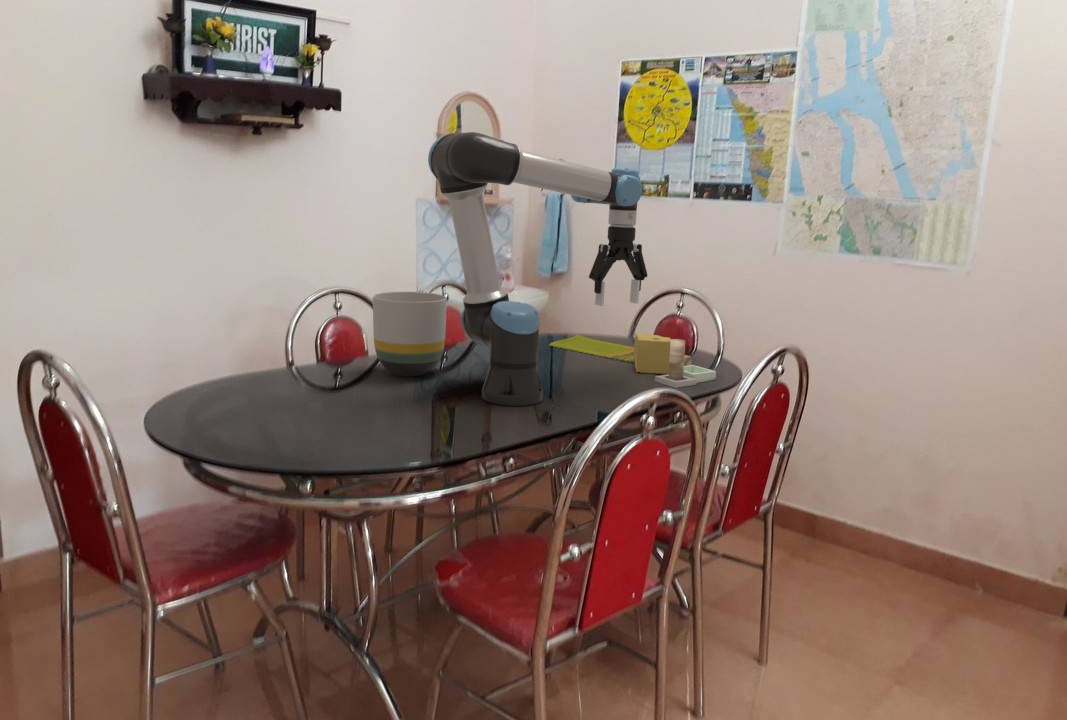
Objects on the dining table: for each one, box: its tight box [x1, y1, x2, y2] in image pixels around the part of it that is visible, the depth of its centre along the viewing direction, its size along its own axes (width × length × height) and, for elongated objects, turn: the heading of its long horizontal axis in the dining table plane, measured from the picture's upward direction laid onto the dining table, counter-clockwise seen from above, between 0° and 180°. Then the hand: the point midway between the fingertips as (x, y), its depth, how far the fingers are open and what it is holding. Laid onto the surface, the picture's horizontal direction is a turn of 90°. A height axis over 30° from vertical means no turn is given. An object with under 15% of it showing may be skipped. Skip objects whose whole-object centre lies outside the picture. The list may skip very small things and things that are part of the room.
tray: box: [683, 364, 717, 384], centre depth 238 cm, size 9×9×2 cm
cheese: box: [633, 332, 671, 375], centre depth 245 cm, size 10×11×10 cm
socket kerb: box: [654, 374, 697, 388], centre depth 231 cm, size 8×8×2 cm
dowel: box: [668, 338, 686, 381], centre depth 230 cm, size 4×4×12 cm
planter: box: [372, 291, 448, 377], centre depth 226 cm, size 20×20×21 cm
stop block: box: [684, 354, 693, 366], centre depth 251 cm, size 3×10×4 cm, turn 36°
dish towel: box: [548, 334, 635, 365], centre depth 269 cm, size 15×36×3 cm, turn 49°
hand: (616, 304), depth 233 cm, fingers open, 12 cm apart
